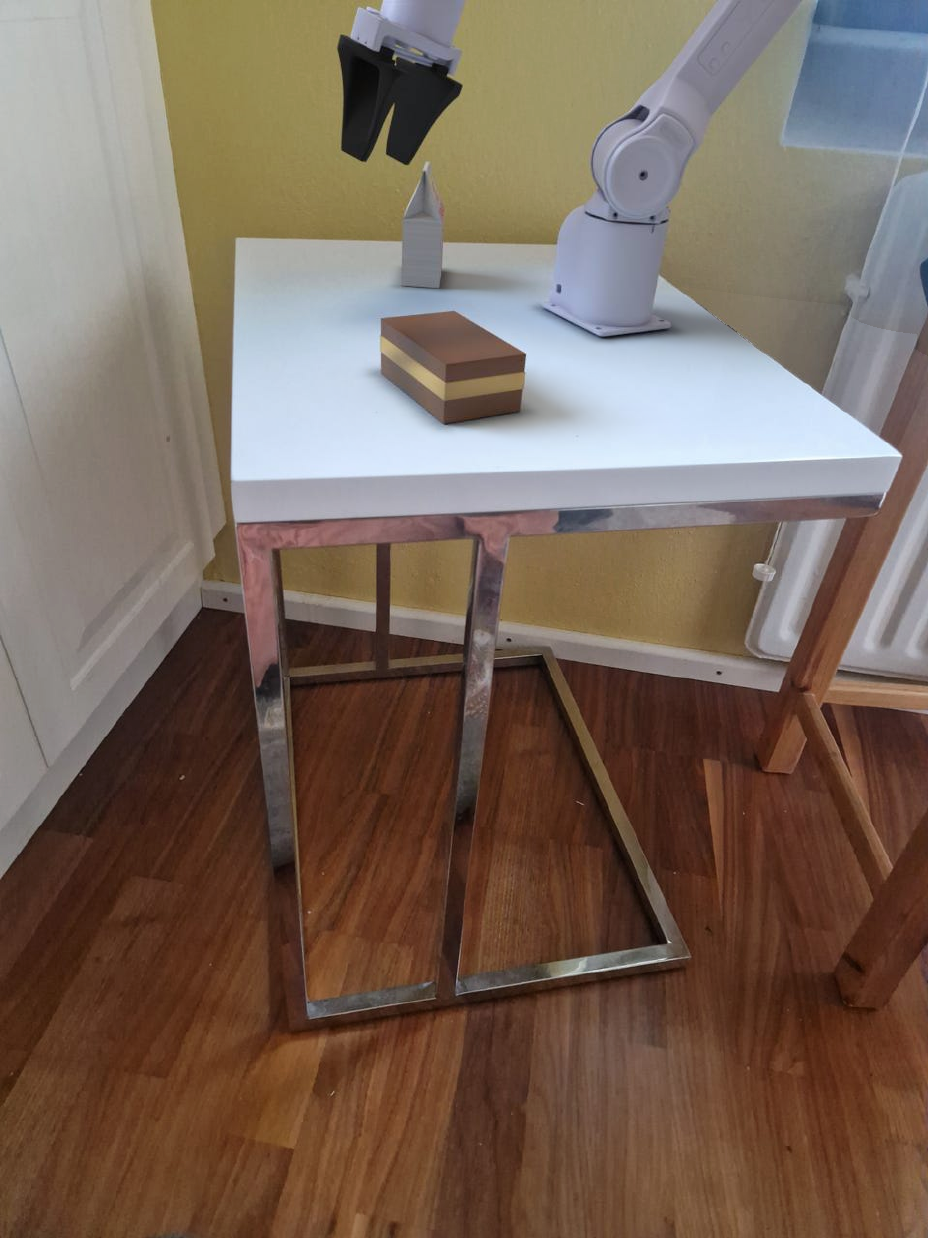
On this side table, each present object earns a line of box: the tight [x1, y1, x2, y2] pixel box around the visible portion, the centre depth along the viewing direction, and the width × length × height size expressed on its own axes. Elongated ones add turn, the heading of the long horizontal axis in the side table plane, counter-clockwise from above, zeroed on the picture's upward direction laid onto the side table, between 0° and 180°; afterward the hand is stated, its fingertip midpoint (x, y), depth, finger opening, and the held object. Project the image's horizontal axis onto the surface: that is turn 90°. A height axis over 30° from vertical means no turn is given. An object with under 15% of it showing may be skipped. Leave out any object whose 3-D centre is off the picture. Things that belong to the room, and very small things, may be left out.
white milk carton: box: [401, 160, 445, 289], centre depth 80 cm, size 4×7×10 cm, turn 179°
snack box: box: [379, 310, 527, 425], centre depth 58 cm, size 10×6×4 cm, turn 29°
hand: (376, 158), depth 67 cm, fingers open, 7 cm apart
